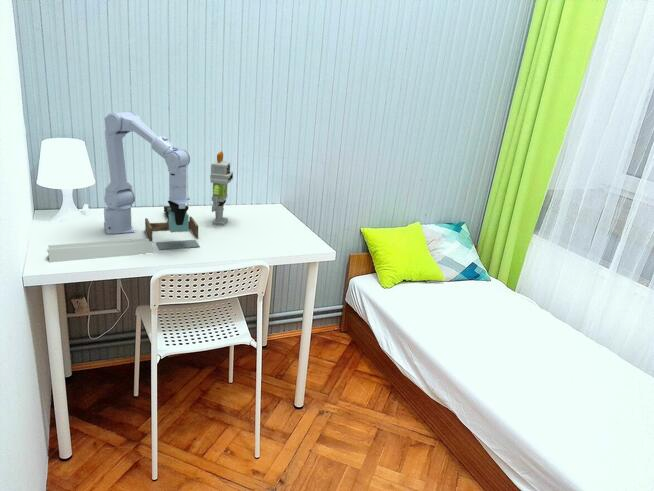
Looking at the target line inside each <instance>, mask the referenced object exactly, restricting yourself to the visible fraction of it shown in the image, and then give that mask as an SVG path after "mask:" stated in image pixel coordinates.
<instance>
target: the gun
mask: <svg viewBox="0 0 654 491" xmlns="http://www.w3.org/2000/svg"><path fill="white" fill-rule="evenodd" d="M169 212H172V211H171V208H170V205H164V206H163V213H164V214H166V216H167V217H169Z"/></svg>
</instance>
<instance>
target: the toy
mask: <svg viewBox="0 0 654 491" xmlns="http://www.w3.org/2000/svg"><path fill="white" fill-rule="evenodd" d="M209 177H210V183H211V184H212V196H211V201H212V205H211V212H212V213H215V215H214V216H215V218H214V219H213V221H212V225H214V226H215V225H216V226H223V227H224V226H226V224H227V223H228V221H229V219H228V218H227V217H224V211H225V210H224V209H225V208H224V206H225V204H226V202H227V199H228V185H229V183H231V182H232V181H233V180H234V171H232V170H231V161H226V160H224V152H223V150H221V151H219V152H218V153H217V155H216V160H215V161H214V162H212V163H211V165H210V175H209Z"/></svg>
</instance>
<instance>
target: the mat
mask: <svg viewBox="0 0 654 491" xmlns="http://www.w3.org/2000/svg"><path fill="white" fill-rule="evenodd" d="M155 244H156V246H157V248H158V250H159V251H165V250H166V251H167V250H180V249H195V248H201V245H199V243H198V241H197V240H196V239H187V240H171V241H158V242H157V241H156V242H155Z"/></svg>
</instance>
